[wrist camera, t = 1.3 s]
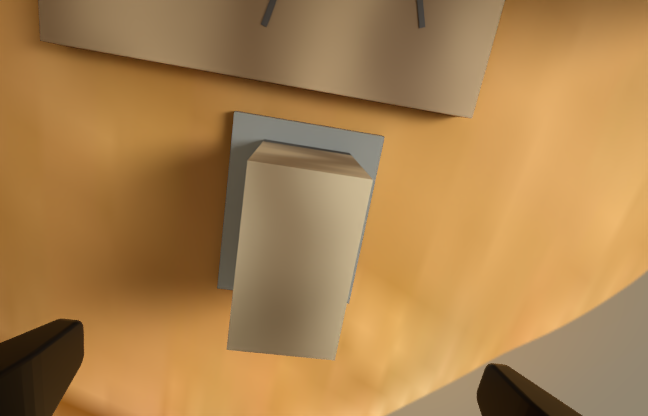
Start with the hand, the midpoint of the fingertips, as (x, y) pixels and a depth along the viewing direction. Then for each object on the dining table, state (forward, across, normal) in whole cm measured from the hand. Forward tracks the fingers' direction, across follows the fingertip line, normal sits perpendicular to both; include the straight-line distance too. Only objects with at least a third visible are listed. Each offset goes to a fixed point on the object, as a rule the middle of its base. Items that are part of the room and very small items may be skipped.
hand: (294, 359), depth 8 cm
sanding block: (+10, 0, 0) cm, 10 cm away
